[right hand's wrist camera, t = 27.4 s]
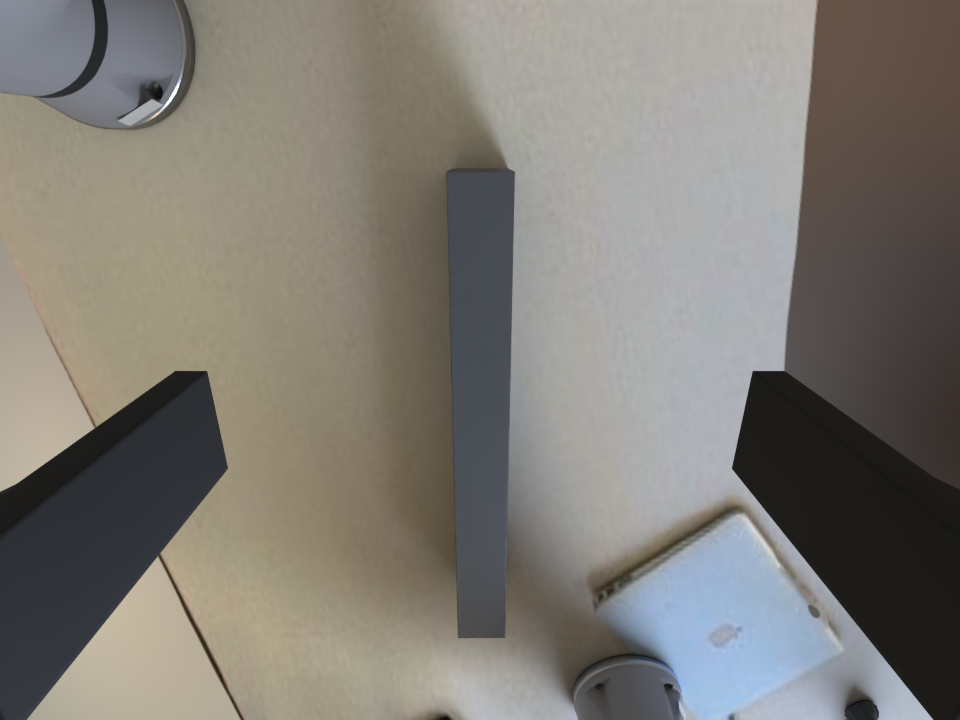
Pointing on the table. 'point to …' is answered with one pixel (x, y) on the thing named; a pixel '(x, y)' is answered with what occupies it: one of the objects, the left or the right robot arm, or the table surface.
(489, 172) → the post
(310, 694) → the table surface
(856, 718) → the robot
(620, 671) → the left robot arm
